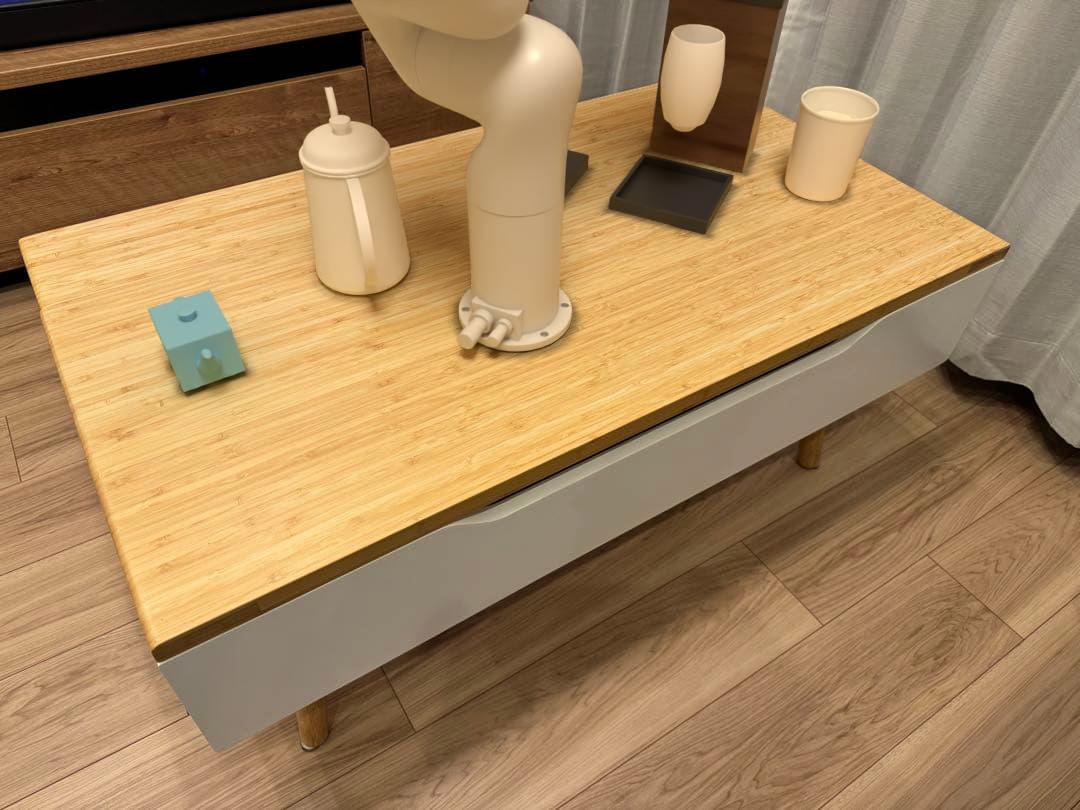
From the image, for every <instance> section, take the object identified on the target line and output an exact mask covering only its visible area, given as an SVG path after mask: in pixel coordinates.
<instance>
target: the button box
mask: <svg viewBox="0 0 1080 810" xmlns="http://www.w3.org/2000/svg"><path fill="white" fill-rule="evenodd" d="M589 160H590V154H587V153H583V152H578V151H575V150H570V149H568V151H567V160H566V173H565V190H564V198H566V196H567V195H568V194H569V192H570V191H571V190H572V189H573V188H574V186H576V184H577V183H578V181H579V180H580V179H581V178H582V177H583V176H584V175H585V173H586V172H587V171H588V170H589V162H590V161H589Z"/></svg>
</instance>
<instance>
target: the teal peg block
mask: <svg viewBox="0 0 1080 810" xmlns="http://www.w3.org/2000/svg"><path fill="white" fill-rule="evenodd" d="M147 312H148V314H149V316H150V318H151V321H152V323H153V326H154V328H155V331H156V333H157V335H158V338H159V340H160V343H161V345H162V346H163V347H162V348H163V349H164V351H165V354H166V356H167V358H168V361H169V363H170V365H171V368H172V369H173V371H174V374H175V376H176V377H177V380H178V383H179V385H180V387H181V390H182V391H183V393H186V392H188V391H191V390H197V389H198V388H200V387H202V386H205V385H208V384H211V383H214V382H216V381H219V380H222V379H225V378H228V377H233V376H235V375H237V374H240V373H241V372H245V371H246V368H245V365H244V363H243V358H242V357H241V353H240V350H239V347H238V344H237V341H236V339H235V335H234V332H233V329H232V328H231V326H230V323H229V321H228V320H227V318H226V316H225V315H224V313H223V311H222V309H221V307H220V305H219V304H218V302H217V300H216V299H215V297H214V295H213V293H212V291H211V289H207V290H204V291H201V292H197V293H194V294H191V295H187V296H177V297H174V298H173V300H172V301H167V302H165V303H162V304H158V305H155V306H152V307H148V308H147Z"/></svg>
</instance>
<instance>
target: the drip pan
mask: <svg viewBox="0 0 1080 810" xmlns="http://www.w3.org/2000/svg"><path fill="white" fill-rule="evenodd" d="M734 177H735V175H734V174H731V173H728V172H724V171H718V170H714V169H711V168H706V167H702V166H698V165H693V164H689V163H685V162H680V161H676V160H672V159H667V158H664V157H659V156H655V155H652V154H648V153H642V154H641V155H640V157H639V158H638V160H637V161H636V162H635V164H634V165H633V166H632V167H631V169H630V170H629V172H628V173H627V174H626V175H625V177H624V178H623V179H622V181H621V182H620V183H619V185H618V186H617V187H616V189H615V190H614V191H613V193H612V194H611V195H610V197H609V202H608V210H610V211H613V212H617V213H618V212H619V213H622V214H626V215H630V216H634V217H637V218H641V219H645V220H649V221H653V222H657V223H660V224H663V225H668V226H671V227H676V228H678V229H683V230H687V231H691V232H695V233H698V234H703V235H706V234H707V231H709V229H710V226H711V224H712V222H713V221H714V219H715V217H716V216H717V214H718V213H719V212H718V211H719V210H720V208H721V207H722V205H723V203H724V201H725V199H726V197H727V195H728V193H729V192H730V190H731V188H732V186H733V183H734Z"/></svg>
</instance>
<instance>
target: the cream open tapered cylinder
mask: <svg viewBox="0 0 1080 810" xmlns="http://www.w3.org/2000/svg"><path fill="white" fill-rule="evenodd" d="M799 100H800V101H799V108H798V112H797V116H796V117H797V118H796V121H795V122H796V123H795V126H794V131H793V136H792V142H791V146H790V151H789V155H788V158H787V159H788V160H787V165H786V170H785V174H784V185H785V187H786V189H788V191H789V192H791V193H792V194H793V195H795V196H798V197H799V198H802V199H805V200H808V201H813V202H831V201H832V202H833V201H836V200H838V199H840V198H841V197H843V196H844V194H845V193H846V191H847V188H848V187H849V185H850V181H851V179H852V177H853V174H854V172H855V169H856V167H857V165H858V162H859V160H860V158H861V155H862V153H863V150H864V148H865V145H866V143H867V141H868V138H869V135H870V134H871V131H872V129H873V126H874V124H875V121H876V119H877V117H878V115H879V114H880V105H879V103H878V102H877V101H876V100H875V99H874V97H871V96H870V95H868V94H866V93H864V92H861V91H859V90H855V89H853V88H848V87H844V86H836V85H835V86H834V85H824V86H815V87H812V88H809V89H807V90H805V91H804V92H803V93H802V94H801V96H800V99H799Z"/></svg>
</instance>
